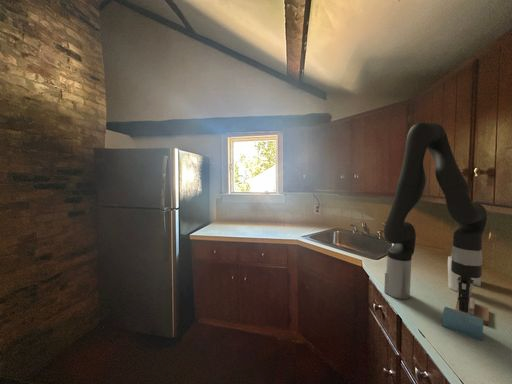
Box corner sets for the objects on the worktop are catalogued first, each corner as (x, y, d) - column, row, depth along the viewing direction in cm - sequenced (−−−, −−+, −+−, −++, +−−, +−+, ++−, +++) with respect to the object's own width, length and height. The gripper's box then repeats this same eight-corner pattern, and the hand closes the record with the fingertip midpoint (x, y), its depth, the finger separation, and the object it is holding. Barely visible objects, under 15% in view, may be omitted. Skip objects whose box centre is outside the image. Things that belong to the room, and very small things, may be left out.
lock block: (442, 326, 79) (442, 313, 78) (444, 319, 82) (444, 306, 82) (482, 341, 71) (483, 327, 71) (482, 332, 75) (483, 319, 75)
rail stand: (454, 314, 85) (455, 304, 85) (457, 301, 93) (458, 292, 93) (488, 325, 78) (489, 315, 78) (488, 311, 87) (489, 301, 86)
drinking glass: (455, 285, 107) (457, 255, 105) (469, 292, 100) (472, 260, 99) (442, 285, 106) (444, 255, 105) (455, 293, 100) (457, 261, 98)
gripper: (453, 252, 82) (452, 294, 83) (449, 263, 73) (447, 310, 74) (482, 258, 77) (480, 302, 78) (481, 269, 67) (479, 320, 68)
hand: (464, 306), depth 76 cm, fingers open, 8 cm apart
